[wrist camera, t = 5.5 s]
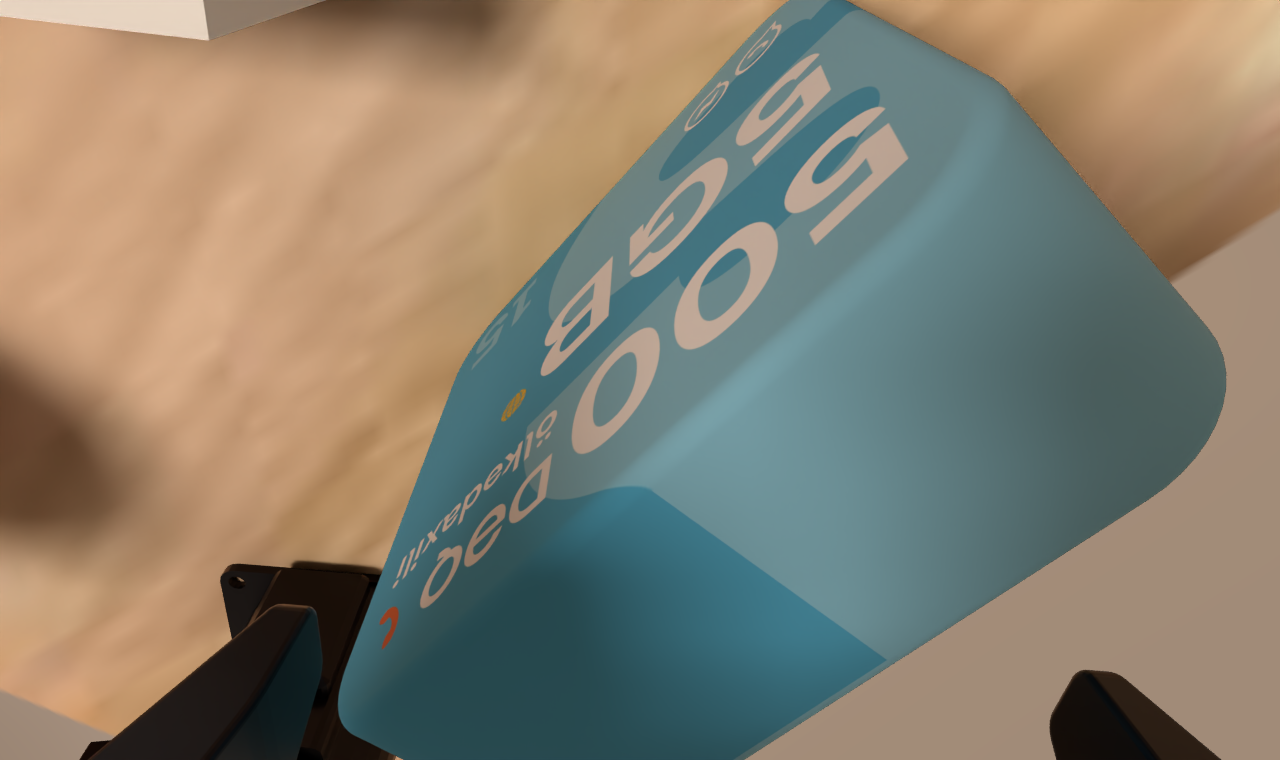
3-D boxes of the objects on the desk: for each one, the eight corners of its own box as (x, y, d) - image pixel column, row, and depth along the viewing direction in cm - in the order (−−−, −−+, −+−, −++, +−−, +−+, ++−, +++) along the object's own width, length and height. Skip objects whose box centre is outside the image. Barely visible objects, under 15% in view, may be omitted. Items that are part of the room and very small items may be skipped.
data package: (803, -27, 17) (1055, 99, 7) (938, 122, 19) (1310, 410, 8) (462, 350, 22) (301, 770, 11) (593, 444, 23) (556, 890, 13)
